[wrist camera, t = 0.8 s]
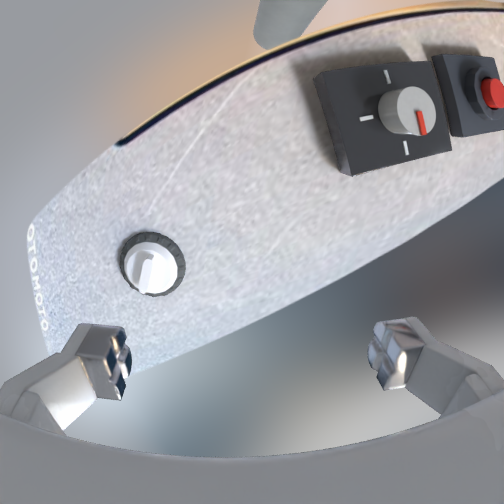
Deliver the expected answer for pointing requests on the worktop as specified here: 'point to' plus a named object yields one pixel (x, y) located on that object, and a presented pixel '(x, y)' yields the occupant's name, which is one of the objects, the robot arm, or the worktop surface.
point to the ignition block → (468, 93)
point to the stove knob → (152, 264)
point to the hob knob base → (377, 115)
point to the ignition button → (493, 93)
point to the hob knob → (407, 111)
